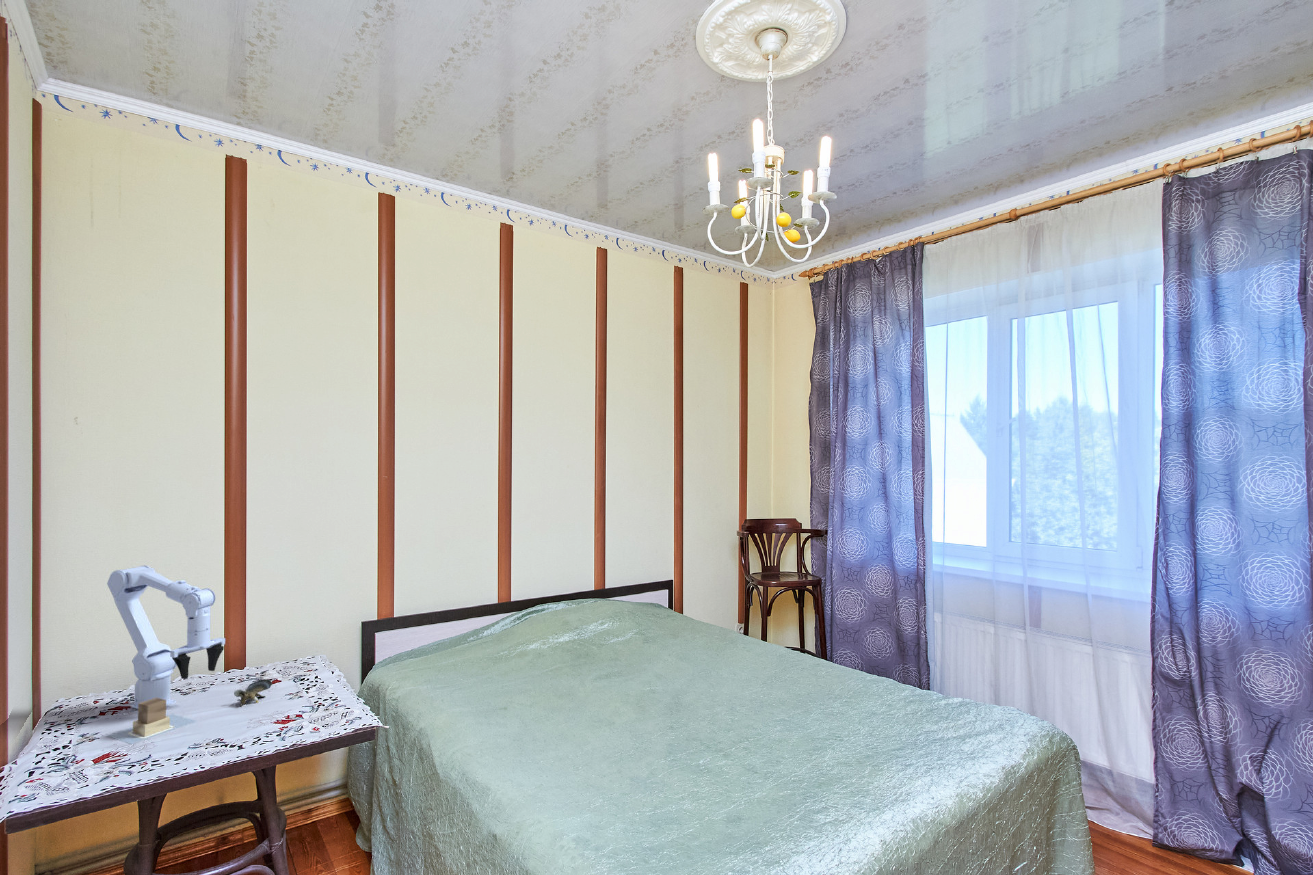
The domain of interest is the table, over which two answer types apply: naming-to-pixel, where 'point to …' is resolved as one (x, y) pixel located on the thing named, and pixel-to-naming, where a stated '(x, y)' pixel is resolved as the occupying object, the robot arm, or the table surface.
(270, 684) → the eagle figurine
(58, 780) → the table surface
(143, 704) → the walnut block
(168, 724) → the oak slab
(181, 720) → the board
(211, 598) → the robot arm
